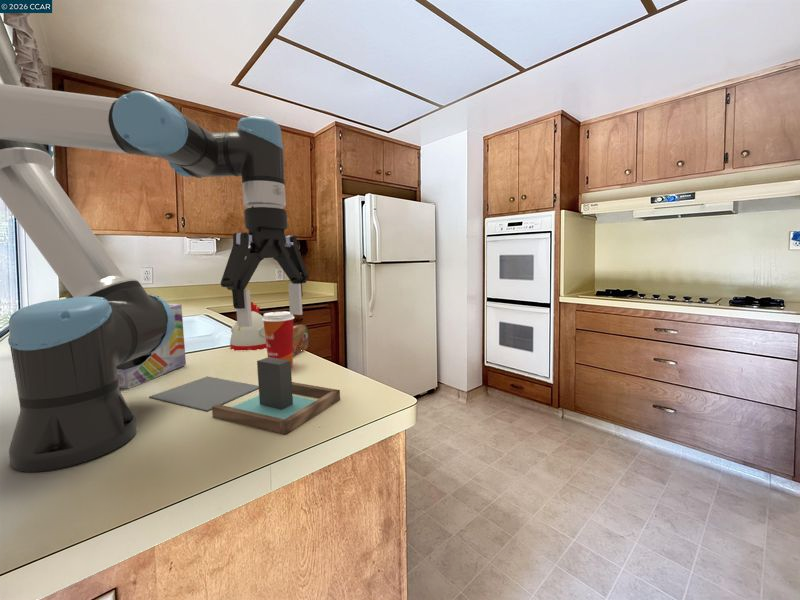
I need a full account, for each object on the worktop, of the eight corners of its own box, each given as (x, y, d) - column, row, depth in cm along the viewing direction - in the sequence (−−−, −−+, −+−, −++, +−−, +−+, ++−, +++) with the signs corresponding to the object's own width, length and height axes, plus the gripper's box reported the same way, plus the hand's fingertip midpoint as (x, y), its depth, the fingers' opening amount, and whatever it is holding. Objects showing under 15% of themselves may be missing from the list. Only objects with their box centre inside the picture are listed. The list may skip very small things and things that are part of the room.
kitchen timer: (220, 349, 119) (217, 304, 117) (250, 340, 131) (248, 299, 130) (255, 352, 114) (252, 305, 112) (282, 342, 127) (280, 300, 125)
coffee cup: (264, 365, 100) (261, 312, 98) (295, 362, 103) (293, 310, 101) (265, 374, 92) (261, 316, 90) (298, 370, 95) (295, 314, 93)
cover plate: (283, 425, 65) (280, 373, 63) (231, 411, 71) (227, 363, 70) (320, 405, 73) (318, 358, 72) (270, 393, 80) (268, 350, 79)
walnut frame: (285, 434, 61) (285, 423, 61) (212, 416, 68) (211, 406, 68) (340, 399, 76) (339, 390, 75) (275, 387, 83) (274, 379, 83)
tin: (288, 360, 105) (286, 331, 104) (278, 359, 106) (276, 331, 105) (310, 347, 120) (309, 322, 119) (301, 346, 120) (300, 322, 119)
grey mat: (207, 411, 70) (207, 410, 70) (149, 397, 78) (149, 396, 78) (261, 387, 83) (261, 386, 83) (207, 377, 90) (207, 376, 90)
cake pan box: (125, 391, 82) (116, 314, 80) (106, 390, 83) (97, 314, 80) (188, 366, 101) (183, 303, 98) (172, 365, 101) (167, 303, 99)
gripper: (223, 197, 55) (233, 334, 57) (322, 213, 77) (326, 311, 80) (189, 201, 58) (201, 331, 60) (294, 215, 80) (299, 309, 83)
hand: (272, 320), depth 70 cm, fingers open, 13 cm apart
